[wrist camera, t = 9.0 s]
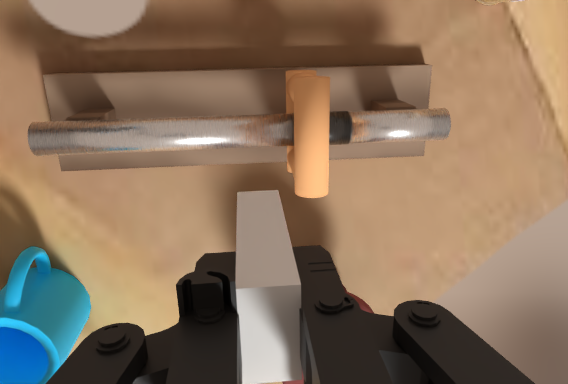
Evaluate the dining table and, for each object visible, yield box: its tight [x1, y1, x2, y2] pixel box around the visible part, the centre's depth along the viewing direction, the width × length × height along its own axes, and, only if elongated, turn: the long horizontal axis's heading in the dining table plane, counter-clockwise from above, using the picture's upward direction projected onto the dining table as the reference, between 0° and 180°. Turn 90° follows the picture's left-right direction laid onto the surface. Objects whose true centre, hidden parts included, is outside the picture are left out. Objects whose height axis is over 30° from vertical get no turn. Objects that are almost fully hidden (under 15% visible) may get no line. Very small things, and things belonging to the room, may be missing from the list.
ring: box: [286, 70, 330, 198], centre depth 33 cm, size 8×2×8 cm, turn 1°
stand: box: [43, 64, 432, 171], centre depth 37 cm, size 8×32×6 cm, turn 91°
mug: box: [0, 246, 91, 384], centre depth 39 cm, size 12×8×8 cm
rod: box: [28, 108, 451, 156], centre depth 33 cm, size 30×2×2 cm, turn 91°
